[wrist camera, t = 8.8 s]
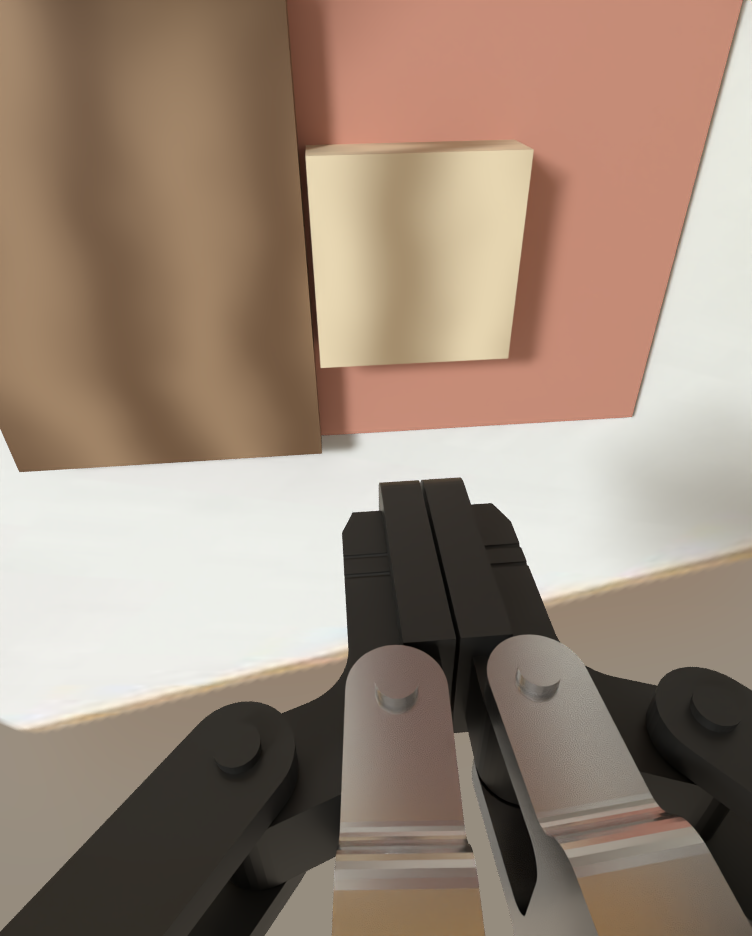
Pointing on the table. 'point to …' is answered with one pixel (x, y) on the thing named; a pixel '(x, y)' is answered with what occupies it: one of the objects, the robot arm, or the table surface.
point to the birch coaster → (416, 249)
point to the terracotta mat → (551, 182)
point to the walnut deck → (151, 235)
